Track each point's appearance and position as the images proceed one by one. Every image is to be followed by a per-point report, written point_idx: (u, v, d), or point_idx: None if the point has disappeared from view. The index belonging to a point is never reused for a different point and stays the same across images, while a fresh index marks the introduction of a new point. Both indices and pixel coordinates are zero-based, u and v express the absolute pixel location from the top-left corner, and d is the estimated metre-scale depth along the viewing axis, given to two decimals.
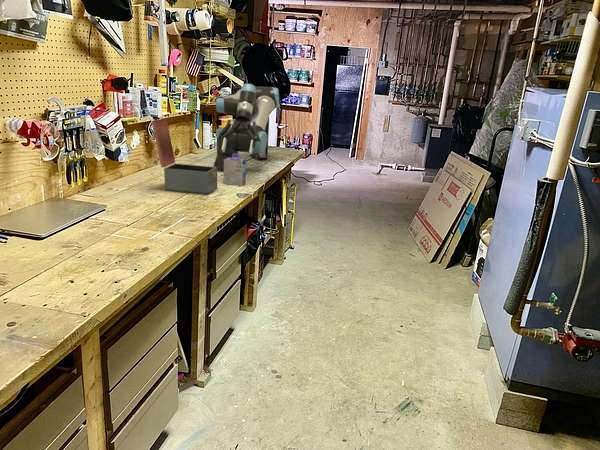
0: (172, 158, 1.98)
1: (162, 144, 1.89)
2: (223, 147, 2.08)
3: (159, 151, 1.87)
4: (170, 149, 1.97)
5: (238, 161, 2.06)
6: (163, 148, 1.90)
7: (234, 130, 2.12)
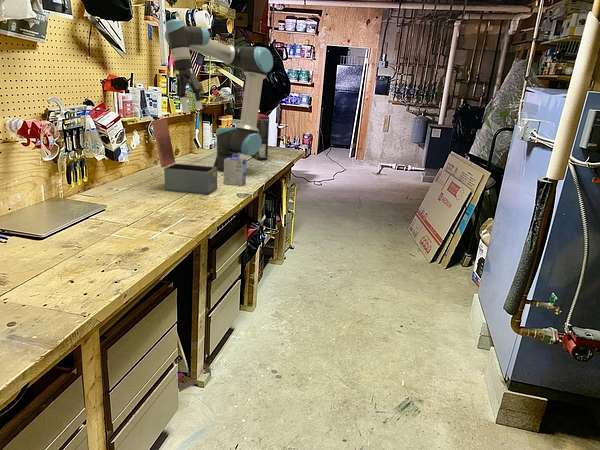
0: (172, 158, 1.98)
1: (162, 144, 1.89)
2: (183, 109, 1.94)
3: (159, 151, 1.87)
4: (170, 149, 1.97)
5: (238, 161, 2.06)
6: (163, 148, 1.90)
7: (184, 84, 1.89)
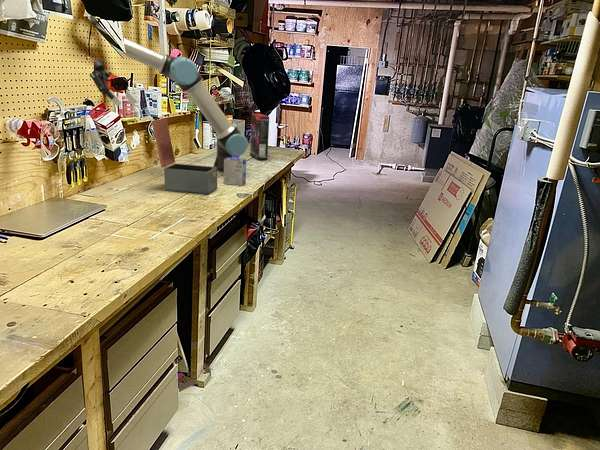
0: (172, 158, 1.98)
1: (162, 144, 1.89)
2: None
3: (159, 151, 1.87)
4: (170, 149, 1.97)
5: (238, 161, 2.06)
6: (163, 148, 1.90)
7: None
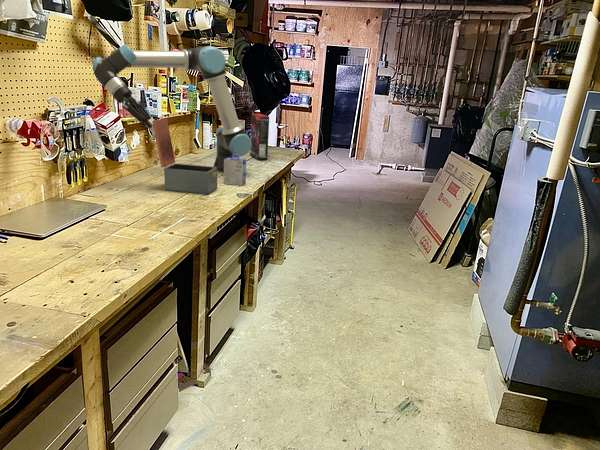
0: (172, 158, 1.98)
1: (162, 144, 1.89)
2: None
3: (159, 151, 1.87)
4: (171, 149, 1.97)
5: (238, 161, 2.06)
6: (163, 148, 1.90)
7: None
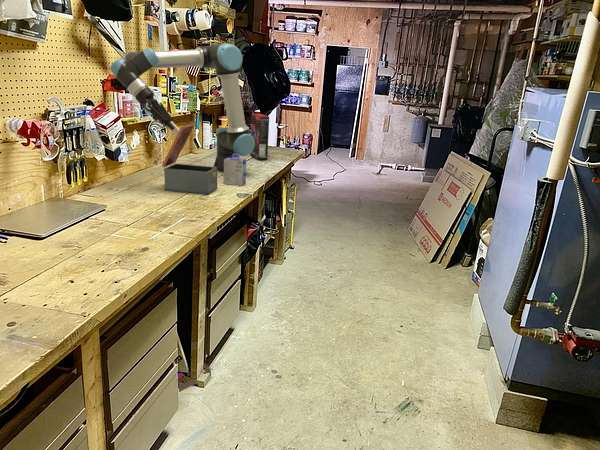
0: (175, 159, 1.98)
1: (176, 147, 1.89)
2: (175, 134, 1.89)
3: (169, 153, 1.87)
4: (179, 152, 1.96)
5: (238, 161, 2.06)
6: (174, 151, 1.89)
7: None
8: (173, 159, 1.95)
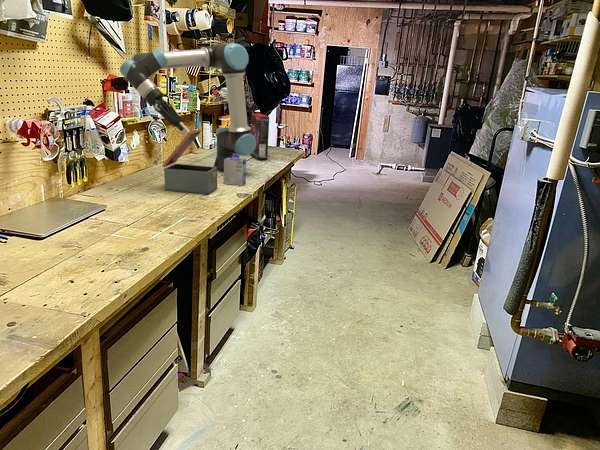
0: (176, 159, 1.98)
1: (179, 150, 1.89)
2: (185, 135, 1.89)
3: (172, 155, 1.87)
4: (181, 153, 1.96)
5: (238, 161, 2.06)
6: (177, 153, 1.89)
7: None
8: (174, 160, 1.95)
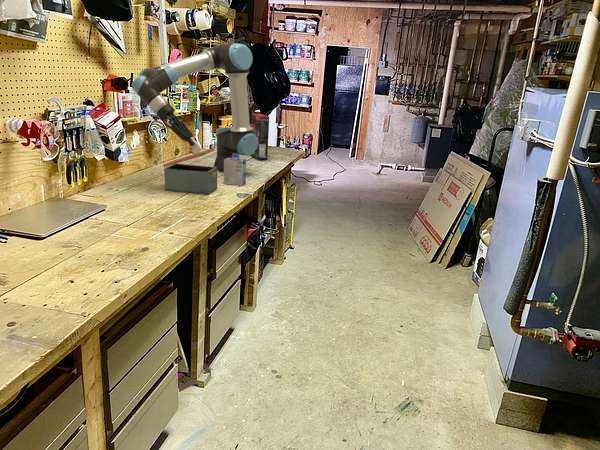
0: None
1: None
2: (195, 150, 1.91)
3: (177, 161, 1.87)
4: None
5: (238, 161, 2.06)
6: None
7: None
8: None
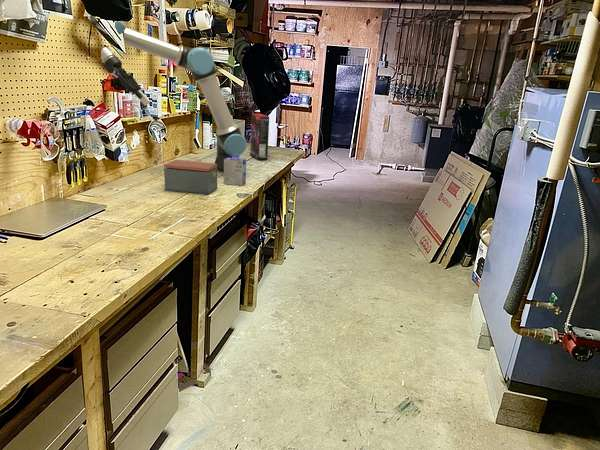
0: None
1: None
2: None
3: (179, 167, 1.88)
4: None
5: (238, 161, 2.06)
6: None
7: None
8: None
